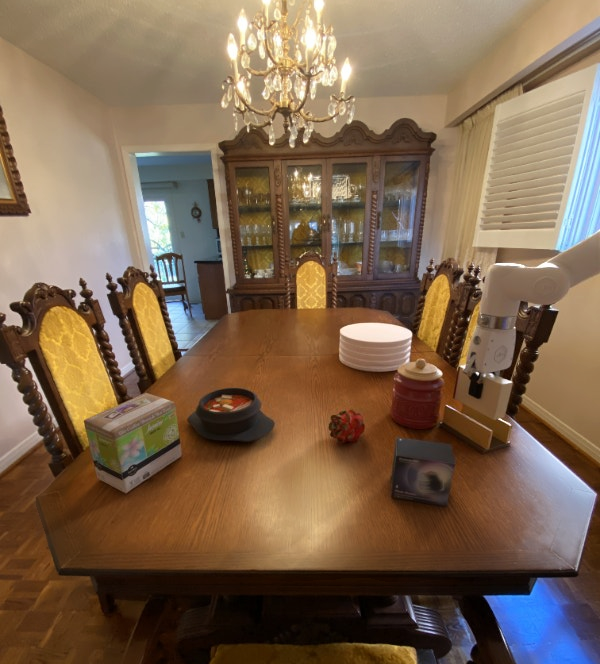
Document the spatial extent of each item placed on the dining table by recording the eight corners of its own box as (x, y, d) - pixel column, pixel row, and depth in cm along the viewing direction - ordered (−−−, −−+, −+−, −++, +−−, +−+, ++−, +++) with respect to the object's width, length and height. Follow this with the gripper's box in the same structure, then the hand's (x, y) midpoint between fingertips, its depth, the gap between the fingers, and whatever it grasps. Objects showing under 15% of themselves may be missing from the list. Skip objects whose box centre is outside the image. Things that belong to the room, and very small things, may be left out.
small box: (390, 499, 68) (395, 455, 64) (390, 478, 74) (394, 436, 70) (448, 509, 65) (456, 463, 61) (443, 485, 71) (451, 442, 67)
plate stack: (402, 348, 153) (405, 323, 149) (415, 372, 127) (419, 342, 123) (339, 347, 156) (339, 322, 152) (339, 370, 130) (339, 341, 126)
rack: (464, 418, 96) (467, 399, 94) (510, 445, 84) (515, 424, 82) (439, 425, 93) (442, 405, 91) (482, 454, 81) (487, 432, 79)
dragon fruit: (331, 455, 84) (352, 438, 93) (359, 445, 79) (379, 429, 89) (315, 423, 85) (338, 410, 94) (342, 411, 80) (364, 398, 89)
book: (462, 395, 92) (468, 363, 88) (504, 417, 81) (513, 382, 78) (452, 398, 90) (458, 366, 87) (493, 420, 80) (501, 384, 76)
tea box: (127, 495, 69) (111, 432, 64) (97, 479, 74) (80, 419, 69) (184, 455, 82) (175, 399, 76) (155, 444, 86) (144, 390, 81)
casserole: (288, 422, 95) (287, 395, 92) (246, 459, 80) (244, 428, 77) (219, 402, 107) (216, 377, 104) (171, 431, 92) (166, 403, 89)
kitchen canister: (425, 436, 88) (434, 372, 82) (381, 418, 97) (386, 359, 90) (446, 417, 97) (456, 358, 90) (403, 402, 105) (410, 347, 99)
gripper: (482, 329, 71) (467, 408, 78) (537, 321, 77) (518, 395, 84) (454, 321, 78) (442, 394, 85) (507, 314, 84) (492, 383, 90)
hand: (480, 394), depth 84 cm, fingers closed on book, 3 cm apart
